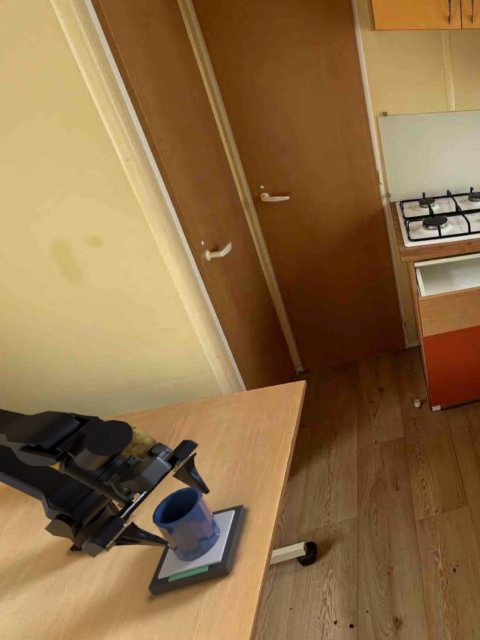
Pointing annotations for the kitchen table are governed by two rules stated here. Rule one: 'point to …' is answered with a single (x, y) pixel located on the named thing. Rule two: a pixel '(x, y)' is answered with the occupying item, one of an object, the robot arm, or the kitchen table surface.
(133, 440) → the potato
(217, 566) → the scale
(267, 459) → the kitchen table surface
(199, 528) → the cup
